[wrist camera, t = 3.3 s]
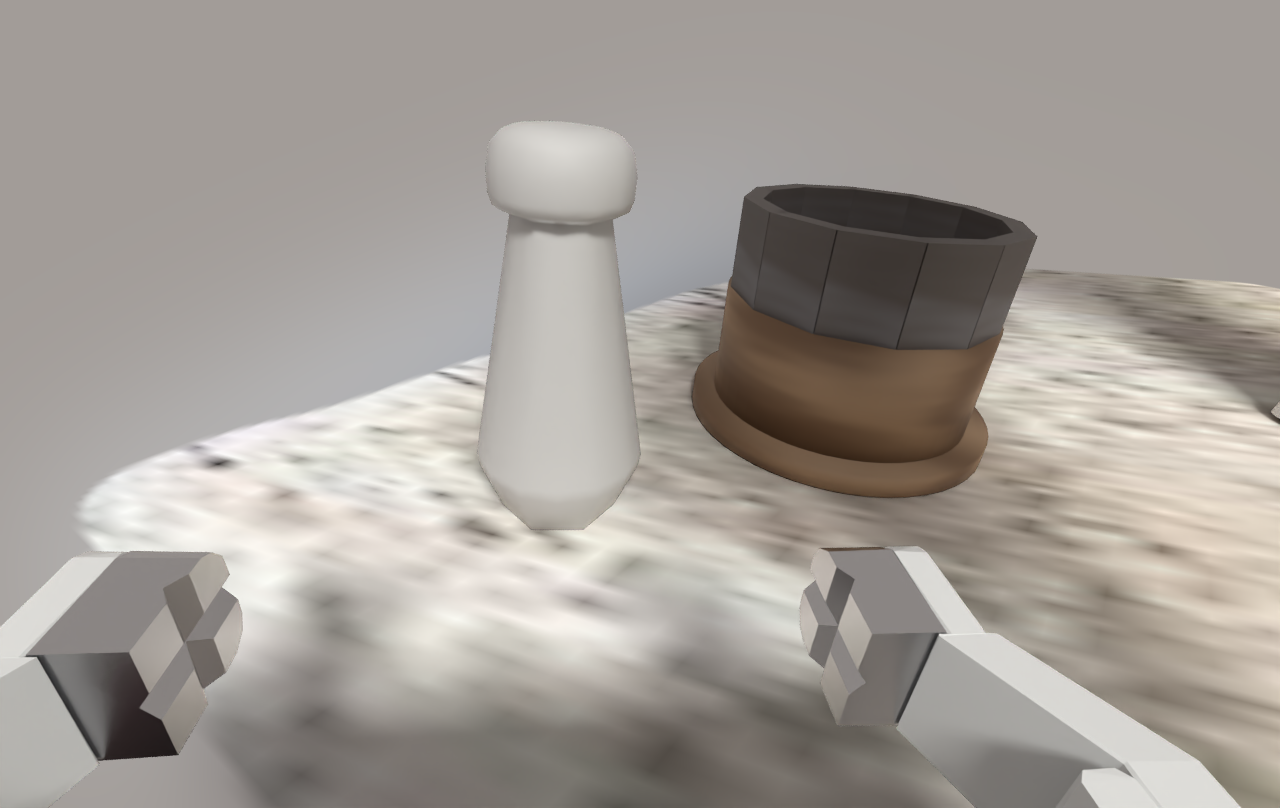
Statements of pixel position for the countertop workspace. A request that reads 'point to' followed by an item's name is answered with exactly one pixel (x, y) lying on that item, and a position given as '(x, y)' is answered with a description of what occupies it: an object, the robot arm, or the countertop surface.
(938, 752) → the robot arm
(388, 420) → the countertop surface
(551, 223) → the salt shaker
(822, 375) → the brown pot
